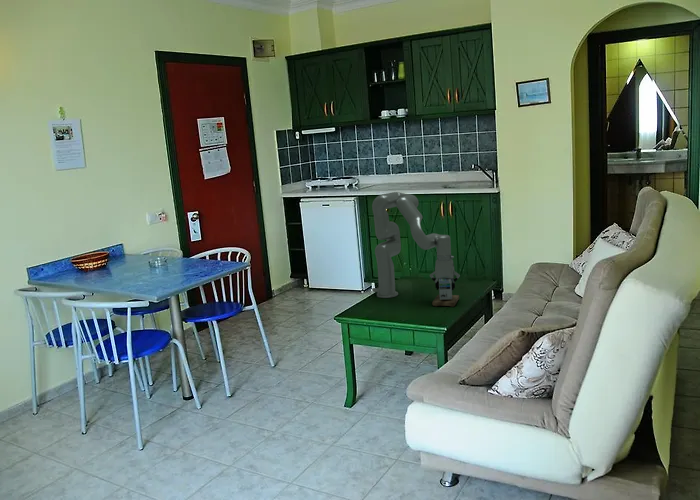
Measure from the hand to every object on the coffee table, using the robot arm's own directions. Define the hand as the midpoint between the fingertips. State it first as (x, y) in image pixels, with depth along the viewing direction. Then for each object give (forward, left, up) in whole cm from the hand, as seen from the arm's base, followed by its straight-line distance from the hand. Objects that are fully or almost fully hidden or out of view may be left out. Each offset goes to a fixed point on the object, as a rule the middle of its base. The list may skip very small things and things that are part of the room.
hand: (445, 289), depth 331 cm
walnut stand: (0, 0, -8) cm, 8 cm away
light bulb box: (0, 0, -5) cm, 5 cm away
